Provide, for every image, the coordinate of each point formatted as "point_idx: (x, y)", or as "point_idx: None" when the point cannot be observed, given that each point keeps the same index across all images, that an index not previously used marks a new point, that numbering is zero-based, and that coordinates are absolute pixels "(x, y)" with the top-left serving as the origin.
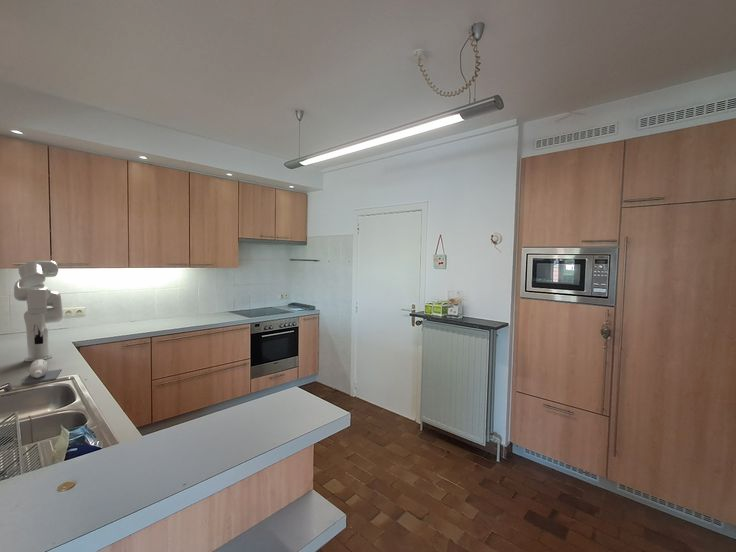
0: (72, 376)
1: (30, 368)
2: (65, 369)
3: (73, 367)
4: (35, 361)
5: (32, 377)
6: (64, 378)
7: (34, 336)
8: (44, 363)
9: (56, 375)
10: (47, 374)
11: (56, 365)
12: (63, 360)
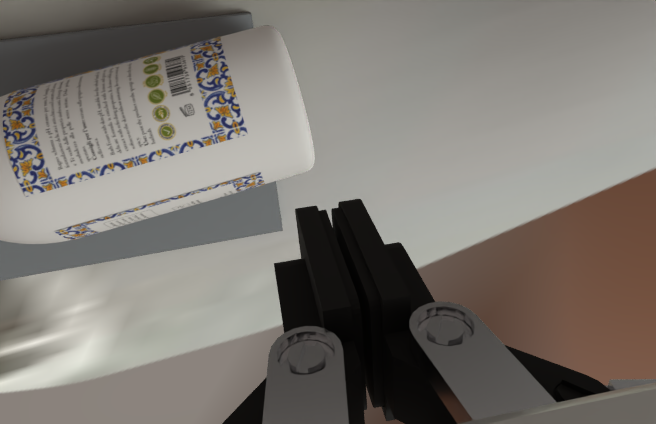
0: (54, 350)
1: (2, 118)
2: None
3: None
4: (226, 109)
5: None
6: (10, 320)
7: (269, 362)
8: (136, 215)
9: (76, 261)
10: None
11: (486, 133)
12: (627, 135)
